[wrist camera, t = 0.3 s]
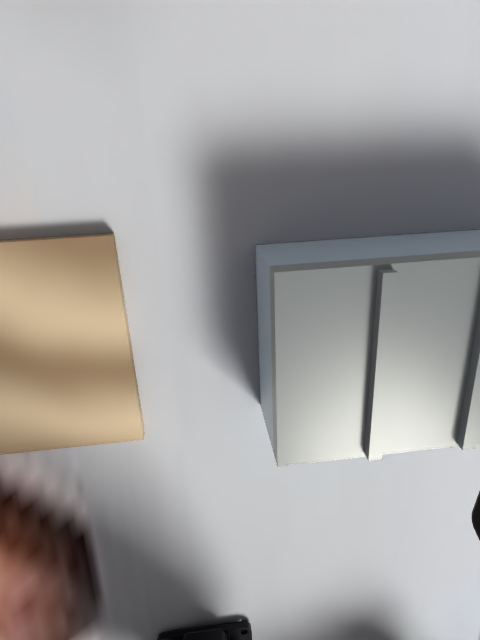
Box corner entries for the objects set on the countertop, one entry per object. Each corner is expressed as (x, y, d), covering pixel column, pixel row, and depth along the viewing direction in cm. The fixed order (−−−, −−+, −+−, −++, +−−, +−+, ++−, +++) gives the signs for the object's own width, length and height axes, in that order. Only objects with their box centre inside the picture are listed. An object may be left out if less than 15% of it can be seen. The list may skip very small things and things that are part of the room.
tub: (482, 383, 25) (532, 423, 22) (260, 405, 24) (273, 452, 20) (510, 227, 22) (576, 243, 18) (255, 244, 21) (269, 265, 17)
